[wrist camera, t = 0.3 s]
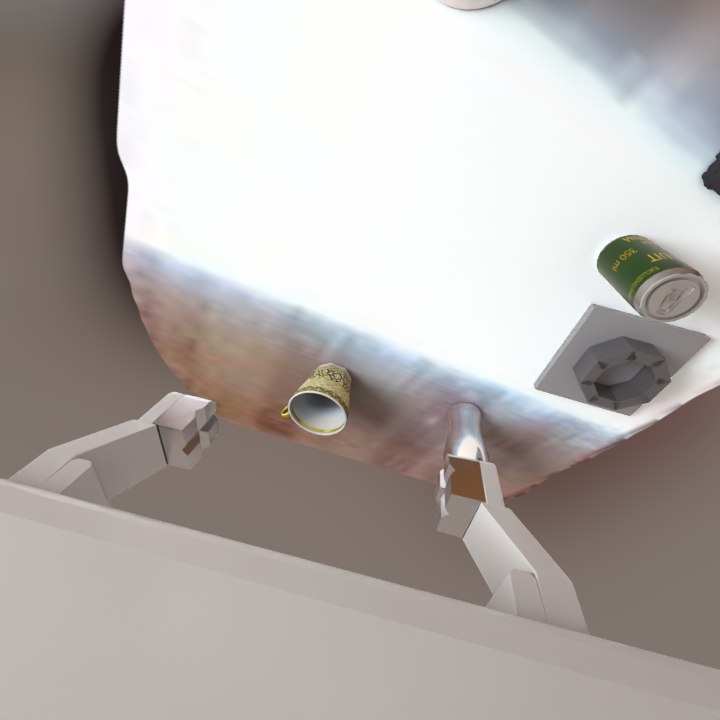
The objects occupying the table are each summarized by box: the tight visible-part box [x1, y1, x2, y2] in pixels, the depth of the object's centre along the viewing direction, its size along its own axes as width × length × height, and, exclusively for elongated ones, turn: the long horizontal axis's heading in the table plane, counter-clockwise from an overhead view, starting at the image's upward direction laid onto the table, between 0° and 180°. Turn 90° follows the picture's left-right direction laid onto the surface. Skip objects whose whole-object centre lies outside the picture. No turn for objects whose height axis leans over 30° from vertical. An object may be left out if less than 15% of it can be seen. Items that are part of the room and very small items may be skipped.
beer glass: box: [443, 402, 490, 466], centre depth 54 cm, size 7×7×15 cm
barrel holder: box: [534, 304, 710, 416], centre depth 47 cm, size 15×15×5 cm
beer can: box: [597, 235, 708, 322], centre depth 35 cm, size 5×5×12 cm
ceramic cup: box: [281, 363, 351, 435], centre depth 58 cm, size 13×10×10 cm
